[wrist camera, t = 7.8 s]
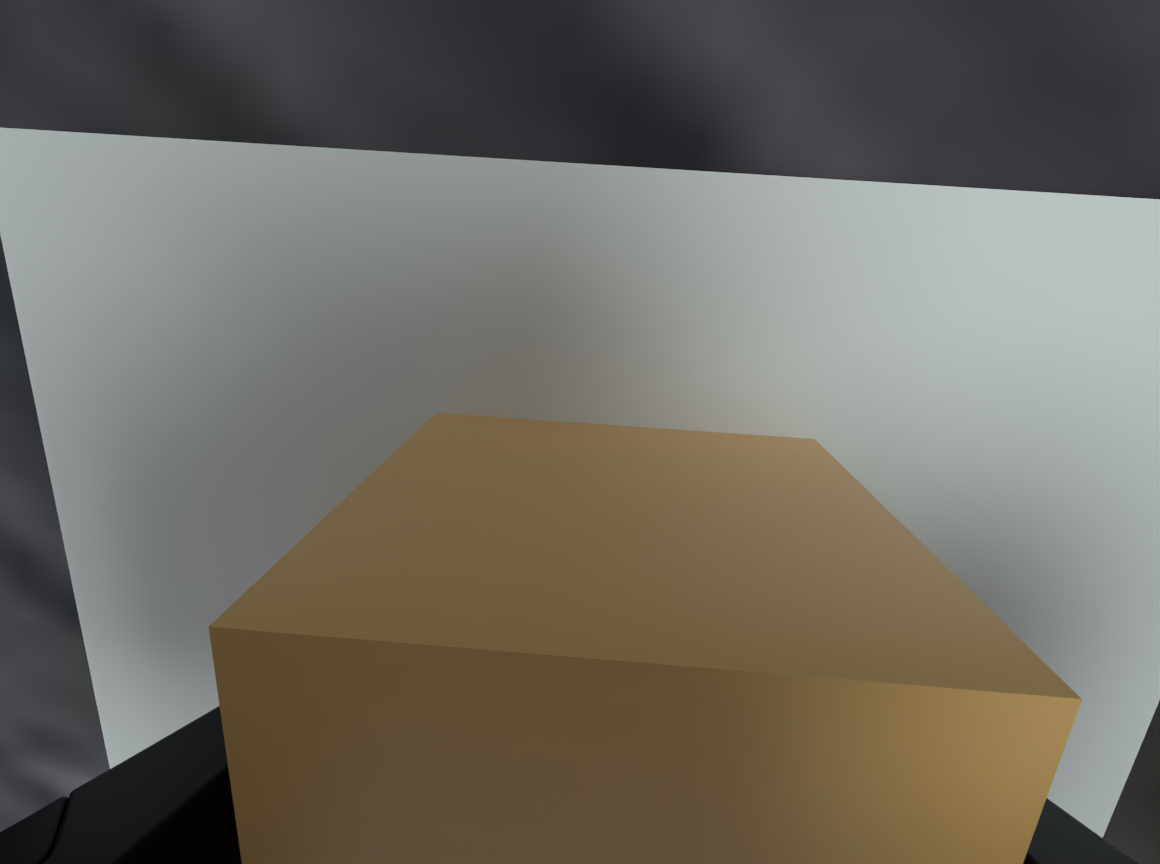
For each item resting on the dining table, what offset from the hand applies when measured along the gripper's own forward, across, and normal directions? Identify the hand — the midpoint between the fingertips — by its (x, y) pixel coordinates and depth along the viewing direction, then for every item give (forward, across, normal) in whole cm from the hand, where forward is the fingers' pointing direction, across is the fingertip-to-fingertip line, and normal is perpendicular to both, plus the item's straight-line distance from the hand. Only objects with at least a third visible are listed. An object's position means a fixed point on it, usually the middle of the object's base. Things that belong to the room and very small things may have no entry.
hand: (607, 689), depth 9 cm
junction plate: (+4, 0, 0) cm, 4 cm away
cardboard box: (+2, 0, 0) cm, 2 cm away
